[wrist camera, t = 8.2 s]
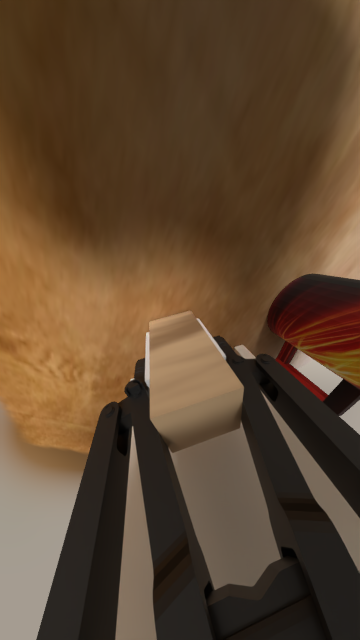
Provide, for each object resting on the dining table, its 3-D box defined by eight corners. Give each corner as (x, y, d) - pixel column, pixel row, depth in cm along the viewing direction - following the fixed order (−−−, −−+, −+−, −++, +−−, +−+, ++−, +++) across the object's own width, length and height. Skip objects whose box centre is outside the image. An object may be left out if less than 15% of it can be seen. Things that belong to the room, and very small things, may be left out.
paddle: (149, 321, 15) (149, 418, 6) (190, 310, 15) (243, 386, 7) (185, 420, 27) (202, 499, 19) (208, 413, 28) (234, 486, 19)
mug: (269, 358, 24) (359, 440, 14) (265, 293, 17) (443, 360, 7) (316, 336, 24) (444, 401, 14) (333, 260, 17) (622, 278, 7)
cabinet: (130, 379, 19) (-34, 1546, 2) (242, 344, 21) (710, 814, 3) (158, 425, 27) (177, 738, 10) (239, 397, 28) (378, 624, 11)
